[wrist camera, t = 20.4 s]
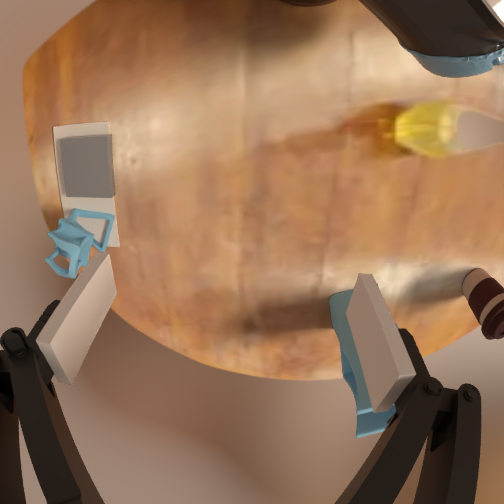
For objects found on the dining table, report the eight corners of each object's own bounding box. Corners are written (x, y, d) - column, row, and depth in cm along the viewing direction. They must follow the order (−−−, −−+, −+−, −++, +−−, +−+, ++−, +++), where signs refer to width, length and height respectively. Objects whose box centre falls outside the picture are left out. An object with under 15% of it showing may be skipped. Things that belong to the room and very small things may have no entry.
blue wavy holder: (327, 294, 56) (356, 411, 35) (377, 283, 55) (424, 392, 33) (332, 330, 61) (355, 438, 40) (377, 319, 60) (414, 422, 38)
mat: (54, 126, 40) (53, 126, 40) (109, 121, 40) (108, 121, 40) (70, 241, 51) (69, 242, 51) (119, 245, 52) (119, 247, 51)
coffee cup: (464, 305, 58) (493, 351, 45) (450, 284, 55) (483, 333, 42) (494, 278, 54) (527, 320, 41) (482, 254, 51) (521, 298, 38)
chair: (76, 196, 46) (37, 228, 36) (115, 215, 48) (82, 252, 38) (69, 232, 50) (34, 267, 40) (106, 250, 52) (76, 290, 41)
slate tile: (112, 133, 41) (65, 136, 41) (107, 136, 39) (59, 139, 39) (115, 194, 46) (71, 193, 46) (111, 198, 45) (66, 197, 44)
